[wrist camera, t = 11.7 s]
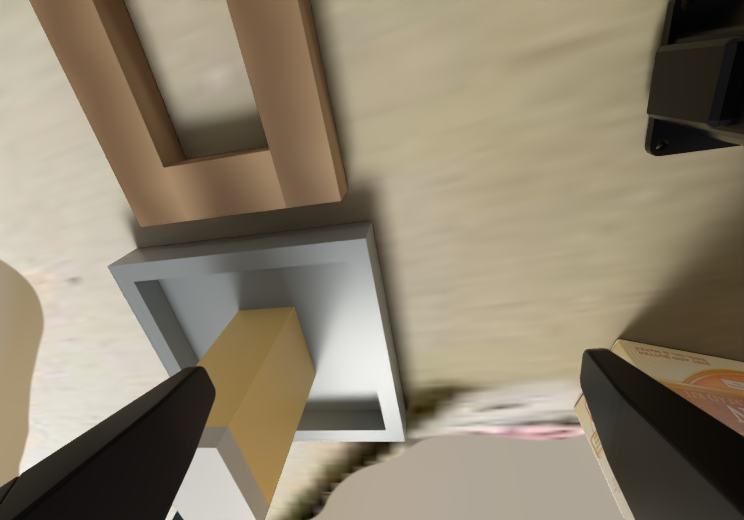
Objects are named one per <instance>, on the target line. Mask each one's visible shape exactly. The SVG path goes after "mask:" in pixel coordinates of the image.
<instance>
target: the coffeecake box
mask: <svg viewBox="0 0 744 520" xmlns="http://www.w3.org/2000/svg"><path fill="white" fill-rule="evenodd" d="M610 351H612V352H613V353H615V354H616V355H618V356H620V357H621V358H623V359H624V360H626V361H627V362H629V363H630V364H632V365H634V366H635V367H637V368H638V369H640V370H641V371H643V372H644V373H646V374H648V375H649V376H651V377H652V378H654V379H655V380H657V381H658V382H660V383H662V384H663V385H665V386H666V387H668V388H669V389H671V390H672V391H674V392H676V393H677V394H679V395H680V396H682V397H683V398H685V399H686V400H688V401H690V402H691V403H693V404H694V405H696V406H697V407H699V408H700V409H702V410H704V411H705V412H707V413H708V414H710V415H711V416H713V417H714V418H716V419H718V420H719V421H721V422H722V423H724V424H725V425H727V426H728V427H730V428H732V429H733V430H735V431H736V432H738V433H739V434H741V435H742V436H744V362H740V361H734V360H729V359H724V358H718V357H713V356H707V355H702V354H696V353H691V352H685V351H680V350H674V349H669V348H664V347H658V346H653V345H648V344H643V343H637V342H632V341H627V340H621V339H618V340H617V341H616V342H615V344H614V345H613V347H612V348H611V350H610ZM574 410H575V412H576V415H577V417H578V419H579V421H580V424H581V426H582V428H583V430H584V432H585V435H586V437H587V439H588V441H589V443H590V446H591V448H592V450H593V452H594V454H595V456H596V459H597V461H598V463H599V465H600V468H601V470H602V472H603V474H604V476H605V479H606V481H607V483H608V485H609V487H610V490H611V492H612V494H613V496H614V498H615V501H616V502H617V505H618V507H619V509H620V511H621V514H622V516H623V518H624V520H635V519H634V517H633V514H632V512H631V510H630V508H629V506H628V504H627V502H626V500H625V498H624V496H623V493H622V491H621V489H620V487H619V485H618V483H617V481H616V479H615V477H614V475H613V472H612V470H611V468H610V466H609V463H608V461H607V459H606V456H605V453H604V451H603V448H602V445H601V442H600V439H599V437H598V434H597V431H596V428H595V425H594V422H593V420H592V417H591V414H590V411H589V408H588V405H587V402H586V400H585V397H584V394H583V395H582V397H581V398H580V400H579V401H578V403H577V405H576V406H575V408H574Z"/></svg>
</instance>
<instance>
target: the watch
mask: <svg viewBox="0 0 744 520" xmlns="http://www.w3.org/2000/svg"><path fill="white" fill-rule="evenodd" d="M173 520H184V519H183V518H182V517H181V515H180V514H179V512H178V511H177V512H176V514H175V516H174V518H173Z"/></svg>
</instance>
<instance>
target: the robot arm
mask: <svg viewBox="0 0 744 520" xmlns="http://www.w3.org/2000/svg"><path fill="white" fill-rule="evenodd" d="M681 2H682V0H670V2H669V5H668V9H667V15H666V21H665V27H664V33H663V39H662V45H661V48H660V50H659V51H658V52H657V53H656V57H655V64H654V70H653V76H652V82H651V89H650V95H649V101H648V107H647V114H648V115H649V116H650V118H649V124H648V130H647V137H646V143H645V150H646V151H647V153H649V154H652V155H654V156H664V155H672V154H679V153H687V152H694V151H702V150H710V149H717V148H725V147H732V146H740V145H743V146H744V0H689V4H688V7H687V8H686V9H685V10H682V9H681ZM660 140H663V144H662V146H661V147H660V148H658V149H656V144H657V143H658V142H659V141H660ZM580 383H581V388H582V391H583V394H584V397H585V400H586V402H587V405H588V408H589V411H590V414H591V417H592V420H593V422H594V425H595V428H596V431H597V434H598V437H599V439H600V442H601V445H602V448H603V451H604V453H605V456H606V459H607V461H608V463H609V466H610V468H611V470H612V472H613V475H614V477H615V479H616V481H617V483H618V485H619V487H620V489H621V491H622V493H623V496H624V498H625V500H626V502H627V504H628V506H629V508H630V510H631V512H632V514H633V517H634V519H635V520H744V436H742V435H741V434H739V433H738V432H736V431H735V430H733V429H732V428H730V427H728V426H727V425H725V424H724V423H722V422H721V421H719V420H718V419H716V418H714V417H713V416H711V415H710V414H708V413H707V412H705V411H704V410H702V409H700V408H699V407H697V406H696V405H694V404H693V403H691V402H690V401H688V400H686V399H685V398H683V397H682V396H680V395H679V394H677V393H676V392H674V391H672V390H671V389H669V388H668V387H666V386H665V385H663V384H662V383H660V382H658V381H657V380H655V379H654V378H652V377H651V376H649V375H648V374H646V373H644V372H643V371H641V370H640V369H638V368H637V367H635V366H634V365H632V364H630V363H629V362H627V361H626V360H624V359H623V358H621V357H620V356H618V355H616V354H615V353H613V352H612V351H610V350H608V349H605V348H597V349H586V350H585V351H584V353H583V357H582V366H581V374H580ZM215 397H216V390H215V387H214V385H213V383H212V381H211V379H210V377H209V375H208V373H207V371H206V369H205V368H204V367H203V366H189V367H186V368H184V369H182V370H181V371H179V372H178V373H176V374H174V375H173V376H171V377H170V378H168V379H167V380H165V381H164V382H162V383H161V384H159V385H158V386H156V387H154V388H153V389H151V390H150V391H148V392H147V393H145V394H144V395H142V396H141V397H139V398H137V399H136V400H134V401H133V402H131V403H130V404H128V405H127V406H125V407H124V408H122V409H121V410H119V411H117V412H116V413H114V414H113V415H111V416H110V417H108V418H107V419H105V420H104V421H102V422H100V423H99V424H97V425H96V426H94V427H93V428H91V429H90V430H88V431H87V432H85V433H83V434H82V435H80V436H79V437H77V438H76V439H74V440H73V441H71V442H70V443H68V444H67V445H65V446H63V447H62V448H60V449H59V450H57V451H56V452H54V453H53V454H51V455H50V456H48V457H46V458H45V459H43V460H42V461H40V462H39V463H37V464H36V465H34V466H33V467H31V468H30V469H28V470H26V471H25V472H23V473H22V474H21V475H20V477H15V478H14V479H12V480H11V481H9V482H8V483H6V484H5V485H3V486H2V487H0V520H165V519H166V517H167V514H168V512H169V510H170V508H171V506H172V504H173V501H174V499H175V497H176V495H177V493H178V491H179V489H180V486H181V484H182V482H183V480H184V478H185V476H186V473H187V471H188V469H189V467H190V465H191V462H192V460H193V458H194V455H195V453H196V450H197V447H198V445H199V442H200V439H201V436H202V434H203V431H204V428H205V425H206V422H207V420H208V417H209V414H210V411H211V409H212V406H213V403H214V400H215Z"/></svg>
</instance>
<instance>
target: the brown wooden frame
mask: <svg viewBox="0 0 744 520" xmlns="http://www.w3.org/2000/svg"><path fill="white" fill-rule="evenodd" d="M29 1H30V3H31V5H32V7H33V9H34V11H35V13H36V15H37V17H38V19H39V21H40V23H41V25H42V27H43V29H44V31H45V33H46V35H47V37H48V40H49V42H50V44H51V46H52V48H53V50H54V52H55V54H56V56H57V58H58V60H59V62H60V64H61V66H62V68H63V70H64V72H65V74H66V76H67V78H68V80H69V82H70V84H71V86H72V88H73V90H74V92H75V94H76V96H77V99H78V101H79V103H80V105H81V107H82V109H83V111H84V113H85V115H86V117H87V119H88V121H89V123H90V125H91V127H92V129H93V131H94V133H95V135H96V137H97V139H98V141H99V143H100V145H101V147H102V149H103V151H104V153H105V156H106V158H107V160H108V162H109V164H110V166H111V168H112V170H113V172H114V174H115V176H116V178H117V180H118V182H119V184H120V186H121V188H122V190H123V192H124V194H125V196H126V198H127V200H128V202H129V204H130V206H131V208H132V210H133V212H134V215H135V217H136V219H137V221H138V223H139V225H140V227H146V226H154V225H161V224H169V223H177V222H184V221H192V220H200V219H207V218H215V217H222V216H230V215H238V214H245V213H253V212H261V211H268V210H276V209H284V208H291V207H299V206H307V205H314V204H322V203H330V202H337V201H341V200H342V199H343V197H344V196H345V194H346V193H347V191H348V187H347V182H346V177H345V172H344V167H343V162H342V157H341V152H340V147H339V142H338V138H337V133H336V128H335V123H334V118H333V113H332V108H331V103H330V98H329V93H328V89H327V84H326V79H325V74H324V69H323V64H322V59H321V54H320V49H319V45H318V40H317V35H316V30H315V25H314V20H313V15H312V10H311V5H310V0H226V1H227V4H228V8H229V11H230V15H231V18H232V22H233V25H234V28H235V32H236V35H237V39H238V42H239V46H240V49H241V53H242V56H243V60H244V63H245V67H246V70H247V73H248V77H249V80H250V84H251V87H252V91H253V94H254V98H255V101H256V105H257V108H258V111H259V115H260V118H261V122H262V125H263V129H264V132H265V136H266V139H267V143H268V146H265V147H259V148H253V149H247V150H242V151H236V152H230V153H224V154H218V155H212V156H206V157H200V158H194V159H188V160H186V158H185V156H184V153H183V151H182V148H181V145H180V143H179V140H178V138H177V135H176V133H175V130H174V128H173V125H172V123H171V120H170V118H169V115H168V113H167V110H166V108H165V105H164V102H163V100H162V97H161V95H160V92H159V90H158V87H157V85H156V82H155V80H154V77H153V75H152V72H151V70H150V67H149V64H148V62H147V59H146V57H145V54H144V52H143V49H142V47H141V44H140V42H139V39H138V37H137V34H136V32H135V29H134V27H133V24H132V21H131V19H130V16H129V14H128V11H127V9H126V6H125V4H124V1H123V0H29Z"/></svg>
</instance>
